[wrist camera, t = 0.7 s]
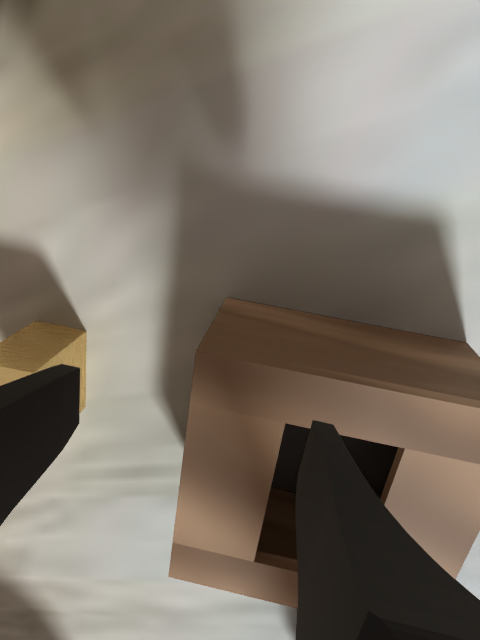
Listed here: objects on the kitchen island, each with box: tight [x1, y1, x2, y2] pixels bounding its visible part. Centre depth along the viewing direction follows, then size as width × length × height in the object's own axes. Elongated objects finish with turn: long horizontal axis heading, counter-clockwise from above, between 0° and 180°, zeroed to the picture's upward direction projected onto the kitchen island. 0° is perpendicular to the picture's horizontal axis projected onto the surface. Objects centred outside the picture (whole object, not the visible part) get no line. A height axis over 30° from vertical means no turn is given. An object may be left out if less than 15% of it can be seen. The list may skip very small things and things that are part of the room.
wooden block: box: [0, 321, 86, 413], centre depth 22 cm, size 5×3×5 cm, turn 171°
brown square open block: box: [169, 297, 480, 608], centre depth 20 cm, size 12×12×6 cm
